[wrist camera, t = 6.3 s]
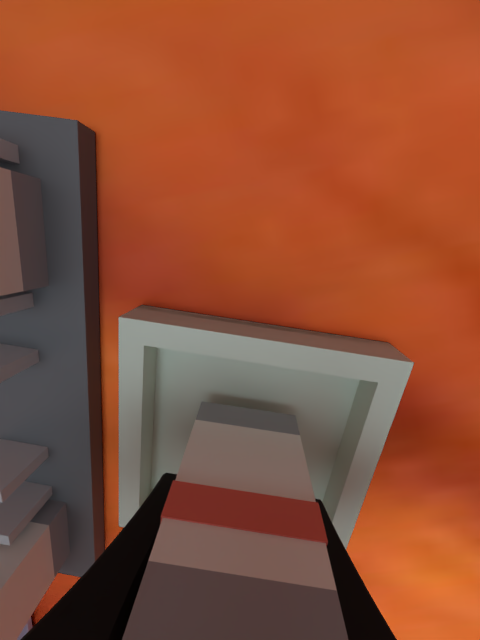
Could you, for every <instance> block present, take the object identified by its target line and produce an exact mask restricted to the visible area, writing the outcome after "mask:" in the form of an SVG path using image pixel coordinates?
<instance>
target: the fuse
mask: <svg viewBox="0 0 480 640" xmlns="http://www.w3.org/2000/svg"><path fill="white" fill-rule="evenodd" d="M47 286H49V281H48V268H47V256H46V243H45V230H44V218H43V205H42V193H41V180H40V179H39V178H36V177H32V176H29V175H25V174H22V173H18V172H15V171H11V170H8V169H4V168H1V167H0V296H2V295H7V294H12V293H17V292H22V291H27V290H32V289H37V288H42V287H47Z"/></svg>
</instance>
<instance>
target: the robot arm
mask: <svg viewBox="0 0 480 640" xmlns="http://www.w3.org/2000/svg"><path fill="white" fill-rule="evenodd" d="M176 476H177V474H172V473H165V474H163V475H162V477H161V478H160V480H159V481H158V483H157V484H156V486H155V487H154V489H153V490H152V492H151V493H150V494H149V496H148V497H147V499H146V500H145V501H144V503H143V504H142V505H141V507H140V508H139V509H138V511H137V512H136V513H135V514H134V516H133V517H132V518H131V519H130V521H129V522H128V523H127V524H126V526H125V527H124V528H123V529H122V531H121V532H120V533H119V534H118V536H117V537H116V538H115V539H114V541H113V542H112V543H111V544H110V545H109V546H108V547H107V549H106V550H105V551H104V552H103V553H102V554H101V556H100V557H99V558H98V559H97V560H96V561H95V562H94V564H93V565H92V566H91V567H90V568H89V569H88V570H87V571H86V573H85V574H84V575H83V576H82V577H81V578H80V579H79V580H78V581H77V582H76V583H75V585H74V586H73V587H72V588H71V589H70V590H69V591H68V592H67V593H66V594H65V595H64V596H63V597H62V598H61V599H60V600H59V601H58V602H57V603H56V604H55V606H54V607H53V608H52V609H51V610H50V611H49V612H48V613H47V614H46V615H45V616H44V617H43V618H42V619H41V620H40V621H39V622H38V623H37V624H36V625H35V626H34V627H32V621H31V617H30V619H29V620H28V622H27V624H26V625H25V627H24V628H23V630H22V632H21V633H20V635H19V637H18V638H17V640H122V638H123V635H124V632H125V629H126V626H127V623H128V620H129V617H130V614H131V611H132V608H133V605H134V602H135V599H136V596H137V593H138V590H139V587H140V584H141V581H142V578H143V575H144V572H145V569H146V566H147V563H148V560H149V557H150V554H151V551H152V548H153V545H154V542H155V539H156V536H157V533H158V530H159V527H160V520H161V514H162V511H163V508H164V505H165V502H166V499H167V496H168V493H169V491H170V488H171V485H172V482H173V480H175V479H176ZM315 501H316V502H317V503H319V507H320V511H321V515H322V519H323V523H324V527H325V532H326V536H327V540H328V544H327V551H328V556H329V560H330V564H331V568H332V572H333V577H334V581H335V585H336V589H337V594H338V598H339V602H340V606H341V610H342V615H343V619H344V623H345V627H346V632H347V636H348V640H397V639H396V638H395V636H394V635H393V633H392V631H391V630H390V628H389V626H388V624H387V623H386V621H385V619H384V618H383V616H382V614H381V613H380V611H379V609H378V608H377V606H376V604H375V602H374V601H373V599H372V597H371V595H370V594H369V592H368V590H367V588H366V586H365V585H364V583H363V581H362V579H361V577H360V575H359V574H358V572H357V570H356V568H355V566H354V564H353V563H352V561H351V559H350V557H349V555H348V553H347V551H346V549H345V547H344V545H343V543H342V541H341V540H340V538H339V536H338V534H337V532H336V530H335V528H334V526H333V523H332V521H331V519H330V517H329V515H328V513H327V511H326V509H325V507H324V505H323V503H322V501H321V500H320V499H315Z"/></svg>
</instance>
